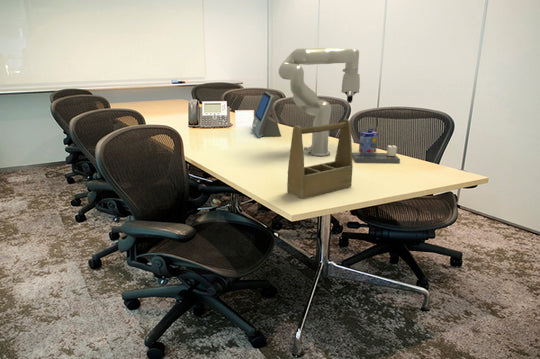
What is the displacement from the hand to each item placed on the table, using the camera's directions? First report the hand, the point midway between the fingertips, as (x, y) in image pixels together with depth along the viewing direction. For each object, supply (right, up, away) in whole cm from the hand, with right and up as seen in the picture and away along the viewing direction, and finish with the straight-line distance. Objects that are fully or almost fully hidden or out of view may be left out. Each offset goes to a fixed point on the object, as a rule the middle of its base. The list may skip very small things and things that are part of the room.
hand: (349, 102), depth 249 cm
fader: (+20, -33, -17) cm, 42 cm away
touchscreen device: (-51, -12, +59) cm, 79 cm away
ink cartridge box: (+12, -30, +4) cm, 32 cm away
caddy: (-26, -51, -66) cm, 88 cm away
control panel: (+11, -35, -16) cm, 40 cm away
